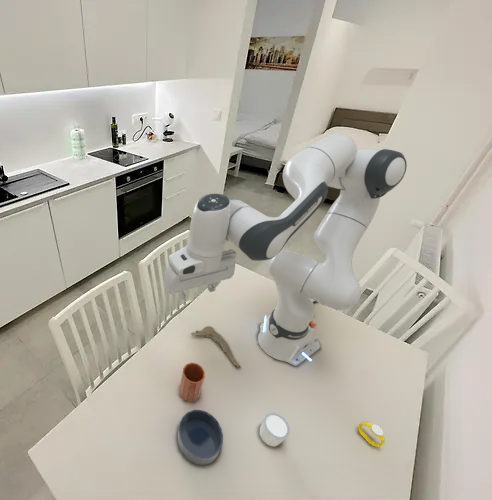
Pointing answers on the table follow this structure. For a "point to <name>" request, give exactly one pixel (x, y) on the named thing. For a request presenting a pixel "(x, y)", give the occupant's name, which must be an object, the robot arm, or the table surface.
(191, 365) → the orange cup
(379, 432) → the watch
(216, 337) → the jawbone
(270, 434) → the white cylinder
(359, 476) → the table surface
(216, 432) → the wide pot
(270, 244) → the robot arm
